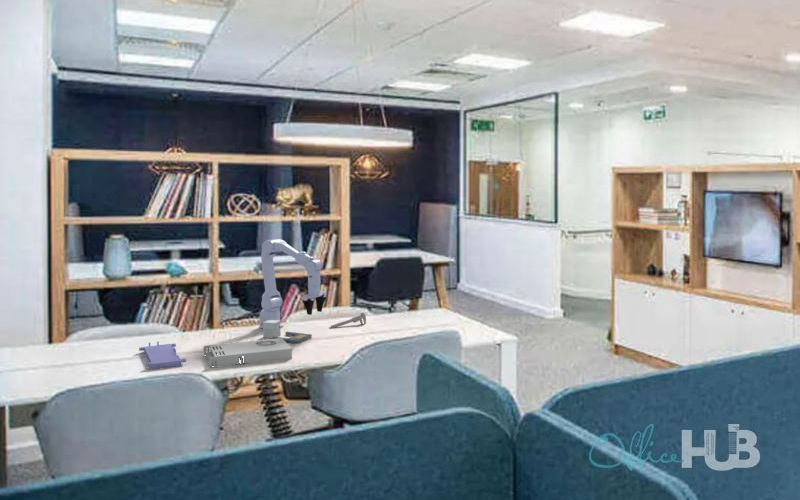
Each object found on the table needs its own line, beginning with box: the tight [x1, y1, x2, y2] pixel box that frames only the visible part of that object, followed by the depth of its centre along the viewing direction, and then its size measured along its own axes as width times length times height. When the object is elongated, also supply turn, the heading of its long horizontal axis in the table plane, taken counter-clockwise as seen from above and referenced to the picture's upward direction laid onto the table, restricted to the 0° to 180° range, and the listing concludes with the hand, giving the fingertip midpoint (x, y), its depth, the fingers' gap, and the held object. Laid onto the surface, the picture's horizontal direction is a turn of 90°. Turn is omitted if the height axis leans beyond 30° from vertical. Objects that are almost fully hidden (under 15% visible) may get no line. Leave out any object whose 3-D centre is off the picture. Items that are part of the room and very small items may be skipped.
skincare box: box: [262, 320, 281, 339], centre depth 301 cm, size 6×6×7 cm
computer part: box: [138, 341, 187, 370], centre depth 265 cm, size 30×4×15 cm
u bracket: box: [271, 331, 313, 345], centre depth 297 cm, size 14×12×2 cm
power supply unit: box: [203, 337, 293, 368], centre depth 267 cm, size 19×33×5 cm, turn 113°
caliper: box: [328, 311, 367, 329], centre depth 323 cm, size 20×1×6 cm, turn 121°
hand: (314, 313), depth 307 cm, fingers open, 7 cm apart
